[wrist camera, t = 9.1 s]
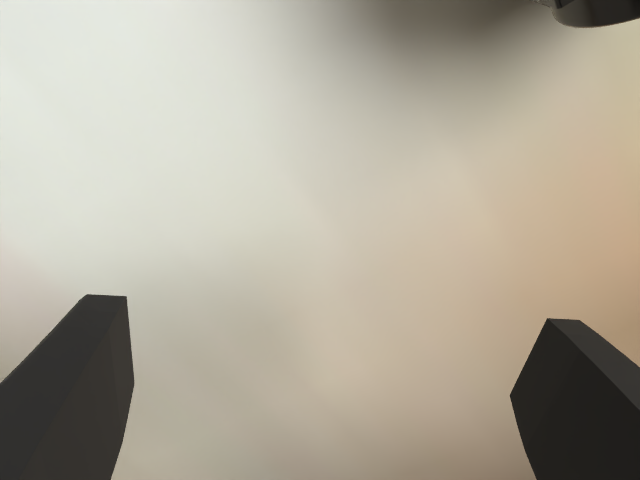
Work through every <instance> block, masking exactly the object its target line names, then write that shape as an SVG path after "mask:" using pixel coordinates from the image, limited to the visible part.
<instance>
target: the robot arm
mask: <svg viewBox="0 0 640 480" xmlns="http://www.w3.org/2000/svg"><path fill="white" fill-rule="evenodd" d="M133 388H134V373H133V362H132V351H131V340H130V329H129V319H128V308H127V297H126V296H109V295H90V294H87V295H85V296H84V297H83V298H82V299H80V300H79V301H78V303H77V304H76V305H75V306H74V307H73V308H72V309H71V310H70V311H69V312H68V313H67V315H66V316H65V317H64V318H63V319H62V320H61V321H60V322H59V323H58V324H57V325H56V327H55V328H54V329H53V330H52V331H51V332H50V333H49V334H48V335H47V336H46V337H45V338H44V339H43V340H42V341H41V343H40V344H39V345H38V346H37V347H36V348H35V349H34V350H33V351H32V352H31V353H30V354H29V355H28V356H27V357H26V358H25V359H24V360H23V361H22V362H21V363H20V364H19V365H18V366H17V367H16V368H15V369H14V370H13V371H12V372H11V373H10V374H9V375H8V376H7V377H6V378H5V379H4V380H3V381H2V382H1V383H0V480H111V477H112V474H113V470H114V467H115V464H116V461H117V458H118V455H119V452H120V448H121V445H122V442H123V437H124V432H125V428H126V423H127V418H128V413H129V408H130V403H131V398H132V393H133ZM510 398H511V402H512V406H513V410H514V414H515V418H516V422H517V425H518V429H519V432H520V436H521V439H522V442H523V446H524V449H525V452H526V454H527V457H528V459H529V462H530V464H531V467H532V469H533V472H534V474H535V476H536V479H537V480H640V367H638V366H637V365H636V364H635V363H634V362H632V361H631V360H630V359H629V358H628V357H626V356H625V355H624V354H623V353H621V352H620V351H619V350H618V349H616V348H615V347H614V346H613V345H612V344H610V343H609V342H608V341H606V340H605V339H604V338H603V337H601V336H600V335H599V334H598V333H596V332H595V331H594V330H592V329H591V328H590V327H588V326H587V325H585V324H584V323H583V322H581V321H580V320H569V319H550V318H547V320H546V322H545V324H544V326H543V328H542V330H541V332H540V334H539V336H538V338H537V340H536V342H535V344H534V347H533V349H532V351H531V353H530V355H529V357H528V359H527V361H526V363H525V365H524V367H523V369H522V371H521V373H520V375H519V377H518V379H517V381H516V383H515V386H514V388H513V390H512V392H511V394H510Z"/></svg>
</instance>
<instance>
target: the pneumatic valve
mask: <svg viewBox="0 0 640 480" xmlns="http://www.w3.org/2000/svg"><path fill="white" fill-rule="evenodd" d="M531 1H534V2H537V3H540V4H543V5H546V6H549V7H551V9H552V13H553V15H554V18H555V19H556V20H557V21H558V22H559V23H561V24H563V25H566V26H569V27H575V28H594V27H603V26H609V25H614V24H619V23H624V22H628V21H631V20H635V19H639V18H640V0H531Z"/></svg>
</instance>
